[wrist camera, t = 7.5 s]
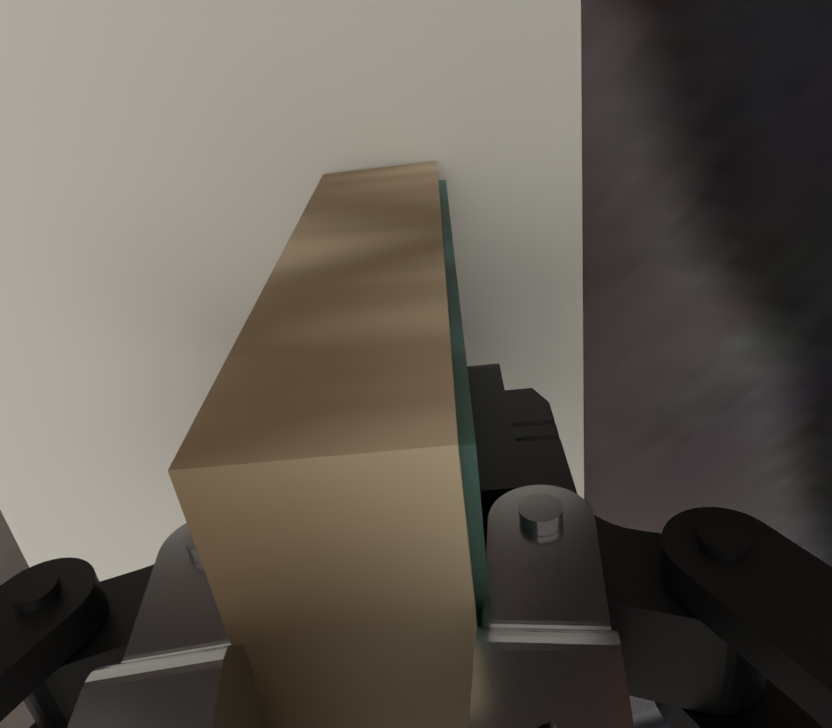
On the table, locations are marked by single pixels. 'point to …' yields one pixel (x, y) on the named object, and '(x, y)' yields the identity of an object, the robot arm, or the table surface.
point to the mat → (251, 217)
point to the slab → (348, 468)
